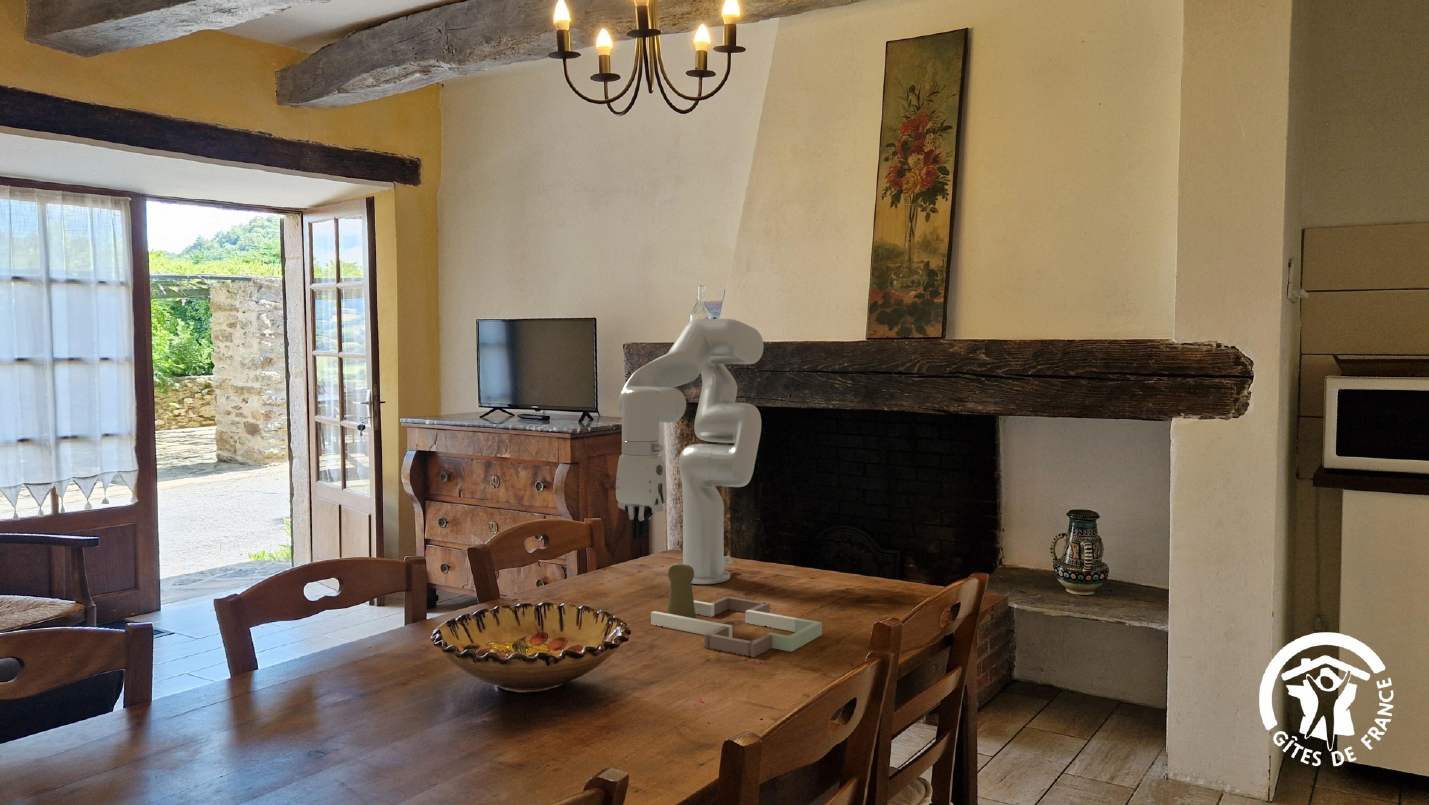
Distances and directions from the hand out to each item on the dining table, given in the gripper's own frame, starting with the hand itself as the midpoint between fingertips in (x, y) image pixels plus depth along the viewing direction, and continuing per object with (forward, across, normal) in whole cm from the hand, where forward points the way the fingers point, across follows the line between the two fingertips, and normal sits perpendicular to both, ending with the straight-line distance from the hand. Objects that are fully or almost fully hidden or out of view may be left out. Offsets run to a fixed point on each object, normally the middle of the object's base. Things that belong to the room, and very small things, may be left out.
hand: (639, 538), depth 201 cm
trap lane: (+15, -22, -1) cm, 27 cm away
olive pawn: (+15, -10, -1) cm, 18 cm away
